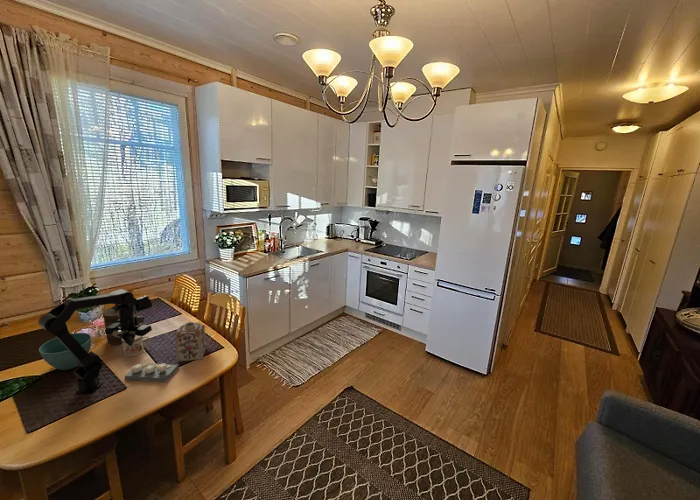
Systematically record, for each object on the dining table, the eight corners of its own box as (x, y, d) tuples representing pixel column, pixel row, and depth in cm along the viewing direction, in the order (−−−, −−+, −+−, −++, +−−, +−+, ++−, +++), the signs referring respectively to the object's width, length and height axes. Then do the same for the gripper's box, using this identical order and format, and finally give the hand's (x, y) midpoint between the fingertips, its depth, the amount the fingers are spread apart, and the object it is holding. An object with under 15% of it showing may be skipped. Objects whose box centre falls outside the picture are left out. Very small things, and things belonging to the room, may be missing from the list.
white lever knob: (163, 375, 138) (163, 368, 137) (155, 374, 138) (154, 368, 137) (169, 370, 142) (168, 363, 141) (161, 369, 142) (160, 363, 141)
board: (165, 382, 137) (165, 378, 136) (125, 379, 137) (124, 375, 137) (178, 368, 146) (178, 364, 146) (140, 366, 147) (140, 362, 146)
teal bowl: (101, 361, 149) (97, 339, 146) (52, 382, 134) (47, 358, 131) (86, 350, 158) (82, 329, 155) (38, 367, 142) (33, 345, 140)
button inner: (138, 376, 138) (137, 369, 137) (130, 375, 138) (129, 369, 138) (144, 370, 142) (144, 364, 141) (136, 370, 142) (135, 364, 141)
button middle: (151, 377, 138) (150, 370, 137) (143, 376, 138) (142, 370, 137) (157, 371, 142) (156, 365, 141) (149, 371, 142) (148, 364, 141)
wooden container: (114, 348, 160) (108, 311, 155) (102, 340, 167) (96, 304, 162) (144, 337, 172) (140, 302, 167) (132, 329, 180) (127, 295, 174)
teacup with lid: (124, 359, 152) (120, 338, 149) (123, 350, 158) (120, 331, 156) (152, 351, 159) (149, 331, 156) (149, 343, 166) (147, 324, 163)
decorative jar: (177, 362, 151) (173, 330, 147) (183, 349, 162) (180, 319, 158) (202, 359, 154) (200, 328, 150) (207, 347, 165) (204, 317, 161)
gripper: (157, 309, 147) (160, 337, 151) (120, 307, 147) (124, 335, 151) (141, 319, 136) (145, 350, 140) (101, 317, 137) (106, 347, 140)
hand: (131, 345), depth 143 cm, fingers closed
